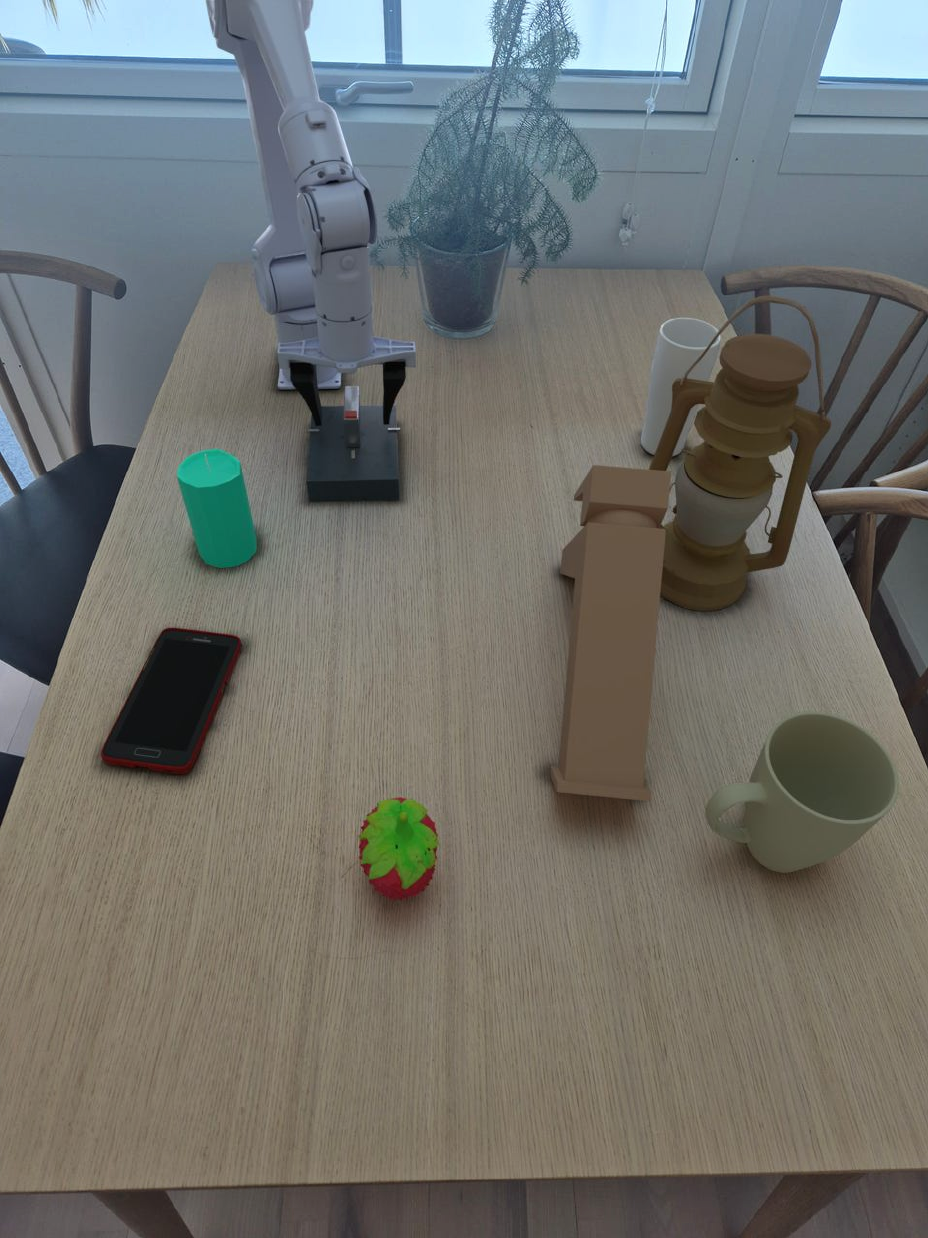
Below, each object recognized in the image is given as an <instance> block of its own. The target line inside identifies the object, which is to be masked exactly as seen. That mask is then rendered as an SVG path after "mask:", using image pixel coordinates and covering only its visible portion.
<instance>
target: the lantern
mask: <svg viewBox="0 0 928 1238" xmlns="http://www.w3.org/2000/svg"><path fill="white" fill-rule="evenodd" d="M760 303H767V304H768V303H770V304H777V305H786V306H790V307H792V308H795V309H797V310H798V311H800V313H801V314H802V315H803V317H805V319H806V320H807V321H808V325H809V328H810V332H811V335H812V340H813V344H814V359H815V366H816V367H815V368H816V376H817V385H818V398H819V399H818V400H819V406H820V411H821V414H820V413H818V412H815V411H812V410H809V409H807V408H804V407H801V406H799V405H796V404H797V401H798V397H799V394H800V389H799V385H800V384H802V383H803V382H805V380H806V379H807V378H808V376H809V374H810V370H811V368H812V359H811V357H810V355H809V354H808V353H807V351H806V350H805V349H803V348H802V347H801V346H799V345H798V344H796V343H794V342H793V341H790V340H789V339H786V338H783V337H779V336H776V335H773V334H772V335H771V334H766V333H765V334H764V333H746V334H740V335H736V336H733V337H731V338H730V339H728V340H726V341H725V343H724V345H723V346H722V347H721V349H720V354H719V356H718V357H719V364H720V366H721V369H720V370H719V371H718V373H717V374H716V375H715V379H714V382H713V381H709V382H708V381H701V380H695V379H688V378H687V376H688V374H689V373H690V371H691V370H692V369H693V368H694V367H695V365H696V364H697V363H698V362H699V361H700V360H701V359H702V358H703V356H704V355H705V354H706V352H707V351H708V350H709V348H710V347H711V346H712V344H713V343H714V342H715V340H716V339H717V338H718V336H719V335H720V334H722V333H723V332H724V331H725V330H726V329H727V327H728V326H729V325H730V324H731V323H732V322H733V321H734V320H735V319H736V318H737V317H739V316H740V315H741V314H742V313H744V312H745V311H747V310H748V309H749V308H751V307H753V306H755V305H759V304H760ZM718 331H719V332H718V333H717V334H716V336H715V337H714V339H713V340H712V341H711V343H710V344H709V345H708V347H707V348H706V349H705V351H704V352H703V354H702V355H701V356H700V357H699V358H698V359H697V360H696V361H695V362H694V364H693V365H692V366H691V367H690V368H689V369H688V370H687V372H686V373H685V376H684V377H682V378H679V379H676V380H675V381H674V383H673V385H672V407H671V412H670V415H669V417H668V420H667V423H666V425H665V428H664V431H663V433H662V436H661V439H660V441H659V444H658V447H657V449H656V452H655V454H654V455H653V457H652V460H651V462H650V465H649V468H648V470H657V471H668V467H669V465H670V462H671V460H672V458H673V456H672V455H673V452H674V450H675V447H676V445H677V442H678V440H679V437H680V435H681V432H682V430H683V427H684V425H685V422H686V420H687V417H688V415H689V412H690V410H691V408H692V407H694V406H695V405H698V404H700V405H704V406H703V407H702V408H700V409H698V410H697V413H696V415H695V418H694V420H693V425H694V427H695V430H696V431H697V434H698V436H699V437H700V438H701V439H702V440H703V441H702V442H701V443H700V444H698V445H696V446H693V447H692V448H689V447H684V448H682V449H681V450H682V451H681V452H683V453H684V454H686V456H684V458H683V459H682V460H681V462H680V464H679V466H678V468H677V470H676V473H675V478H674V482H672V483H670V490H669V494H670V493H671V490H672V487H674V491H675V505H674V506H673V507H672V513H673V514H674V517H673V520H672V521H670V522H667V523H666V524H664V525H663V524H661V525H660V527H659V528H658V529H666V535H665V546H664V558H663V569H662V580H661V591H660V598H663V599H665V600H667V601H669V602H671V603H673V604H675V605H676V606H678V607H680V608H684V609H687V610H693V611H699V612H703V611H705V612H706V611H707V612H708V611H709V612H710V611H711V612H712V611H717V610H722V609H724V608H727V607H729V606H731V605H733V604H734V603H735V602H737V601H738V600H739V599H740V598H741V596H742V595H743V593H744V591H745V588H746V586H747V581H748V573H753V572H759V571H764V570H770V569H775V568H779V567H782V566H783V565H784V564H785V563H786V561H787V558H788V555H789V552H790V548H791V545H792V540H793V537H794V533H795V528H796V525H797V521H798V518H799V514H800V509H801V506H802V501H803V498H804V495H805V490H806V486H807V483H808V479H809V475H810V471H811V467H812V464H813V460H814V457H815V453H816V450H817V449H818V447H819V445H820V443H821V442H822V441H823V439H824V438H825V437H826V435H827V434H828V433H829V432H830V430H831V427H832V420H831V419H830V418H828V417H827V416H826V411H825V407H824V406H825V405H824V379H823V367H822V365H823V364H822V356H821V348H820V340H819V335H818V331H817V327H816V325H815V321H814V318H813V316H812V315H811V313H810V312H809V310H808V309H807V306H805V305H803V304H802V303H800V302H798V301H796V300H793V299H788V298H784V297H779V296H773V295H759V296H757V297H755V298H753V299H750V300H748V301H747V302H746V303H744V305H742V306H741V307H740V308H738V309H737V310H736V311H735V312H734V313H732V314H731V316H730V317H729V318H728V319H727V321H726V322H724V324H723V325H722V326H721V327H720V329H719V330H718ZM793 432H794V433H795V434H796V437H797V444H796V448H795V452H794V455H793V460H792V464H791V467H790V471H789V476H788V479H787V483H786V488H785V492H784V495H783V500H782V504H781V508H780V511H779V515H778V519H777V524H776V527H775V526H771V527H770V530H769V532H768V530H767V529H768V528H767V526H768V524H769V522H770V518H771V517H772V516H771V515H772V511H771V508H770V507H769V506H768V505H769V502H770V500H771V498H772V495H773V489H774V484H775V483H776V481H777V479H782V478H783V477H784V476H783V474H781V473H780V472H777V471H776V469H775V467H774V465H773V463H772V462H771V460H770V457H771V456H774V455H777V454H778V453H782V452H783V451H785V450H787V449H788V448H789V446H790V445H791V444H792V443H793ZM765 509H767V510H768V516H767V519H766V522H765V524H764V530H763V531H764V534H766V535H767V537H768V539H767V543H768V544H771V547H770V549H769V550H768V551H765V552H759V553H751V550H750V548H749V547H748V545H747V543H746V542H745V541H746V539H747V535H748V534H747V530H748V529H750V527H751V526H752V524H753V523H754V522H755V521H756V520H757V519H758V518H759V516H760V515H761V514H762V513H763V511H764V510H765Z"/></svg>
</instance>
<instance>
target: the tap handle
mask: <svg viewBox="0 0 928 1238" xmlns="http://www.w3.org/2000/svg"><path fill="white" fill-rule="evenodd" d="M343 395H344V397H343V399H344V401H343V406H344V428H345V439H346V447H360V436H361V411H360V406H361V399H360V398H361V397H360V387H359V386H358V385H345V386H344V394H343Z"/></svg>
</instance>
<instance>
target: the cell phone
mask: <svg viewBox="0 0 928 1238" xmlns="http://www.w3.org/2000/svg"><path fill="white" fill-rule="evenodd" d="M242 645H243V644H242V640H241V638H240V637H239V636H237V635H234V634H229V633H223V632H222V633H220V632H213V631H206V630H199V629H191V628H190V629H189V628H182V627H166V628H164V629H163V630H162V631H161V632H160V634H159V635H158V636H157V639H156V640H155V642H154V645H153V646H152V648H151V650H150V652H149V654H148V656H147V658H146V660H145V662H144V664H143V666H142V668H141V670H140V672H139V674H138V676H137V678H136V679H135V682H134V684H133V686H132V687H131V690H130V692H129V693H128V696H127V698H126V700H125V701H124V704H123V705H122V708H121V710H120V711H119V714H118V715H117V718H116V720H115V721H114V723H113V726H112V728H111V729H110V732H109V733H108V736H107V738H106V739H105V742H104V744H103V747H102V749H101V752H100V753H101V754H100V757H101V758H102V761H103V762H104V763H106V764H108V765H112V766H118V767H122V766H125V767H126V768H131V769H132V768H133V769H136V768H137V767H144V768H148V769H149V771H155V772H161V773H168V774H177V775H181V774H183V775H184V774H187V773H188V772H190V771H191V770H192V768H193V767H194V764H195V763H196V761H197V758H198V756H199V753H200V750H201V748H202V746H203V744H204V741H205V738H206V736H207V733H208V731H209V729H210V726H211V724H212V721H213V719H214V717H215V714H216V712H217V709H218V706H219V704H220V701H221V699H222V696H223V695H224V693H223V692H224V689H225V686H227V684H228V682H229V679H230V677H231V675H232V672H233V670H234V668H235V665H236V662H237V660H238V658H239V656H240V653H241V649H242Z"/></svg>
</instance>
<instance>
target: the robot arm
mask: <svg viewBox="0 0 928 1238" xmlns="http://www.w3.org/2000/svg"><path fill="white" fill-rule="evenodd" d="M204 2H205V6H206V11H207V16H208V21H209V25H210V30H211V34H212V36H213V38H214V41H215V46H216V47H217V49H219V50H221V51H224V52H226V53H229V54H230V55H233V58H234V59H235V62H236V65H237V67H238V70H239V73H240V76H241V79H242V86H243V89H244V96H245V100H246V106H247V110H248V116H249V120H250V125H251V131H252V135H253V136H252V137H253V141H254V146H255V151H256V157H257V161H258V167H259V172H260V177H261V183H262V187H263V193H264V198H265V203H266V208H267V214H268V218H269V225H268V227H266V230H265V231H264V232H263V233H262V234H261V235H260V236H259V238H258V239H256V241H255V242H254V244H253V246H252V250H251V254H252V255H251V256H252V261H253V274H254V281H255V286H256V291H257V294H258V298H259V302H260V304H261V306H262V308H263V310H264V311H265V312H266V313H268V314H269V316H273V315H274V322H275V329H276V335H277V343H278V344H277V352H276V355H277V361H278V368H279V373H278V379H277V388H278V389H279V390H296V391H297V392H298V394H299V395H300V396H301V397H302V399H303V400H304V402H305V403H306V405H307V407H308V409H309V411H310V414H312V416H313V419H314V422H315V425H316V426H322V407H321V406H322V403H321V396H320V392H319V390H331V389H333V390H335V389H337V390H338V389H340V388H341V387H342V374H355V373H357V371H358V369H361V368H364V367H369V366H374V365H382V387H383V395H382V406H383V425H389V424H390V415H391V411H392V407H393V405H394V404H395V401H396V399H397V397H398V394H399V393H400V391H401V389H402V387H403V386H404V384H405V381H406V378H407V371H406V368H416V367H417V363H416V361H417V359H416V358H417V353H416V342H415V341H402V340H397V339H389V338H385V337H378V336H374V323H373V321H374V320H373V303H372V281H371V264H370V262H371V261H370V246H369V245H368V244H370V245H374V244H375V243H376V241H377V238H378V237H377V236H378V218H377V217H378V216H377V210H376V205H375V200H374V197H373V193H372V190H371V187H370V185H369V183H368V181H367V180H366V178H365V177H364V176H363V175H362V172H361V170H360V168H359V167H358V166H356V167H354V166H353V163H352V159H351V156H350V153H349V150H348V147H347V146H348V145H347V143H346V140H345V136H344V134H343V131H342V126H341V124H340V121H339V118H338V114H337V112H336V110H335V109H334V108H333V107H332V106H331V105H330V104H328V103H327V102H325V101H323V100H321V99H320V93H319V90H318V85H317V81H316V76H315V72H314V67H313V63H312V62H313V61H312V58H311V54H310V49H309V44H308V40H307V36H306V31H307V30H308V29H309V28H311V20H312V19H311V17H312V12H313V9H314V5H315V4H314V3H315V0H204ZM299 252H302V253H299ZM292 253H293V254H292ZM294 253H295V254H294ZM286 254H287V255H286Z"/></svg>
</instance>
